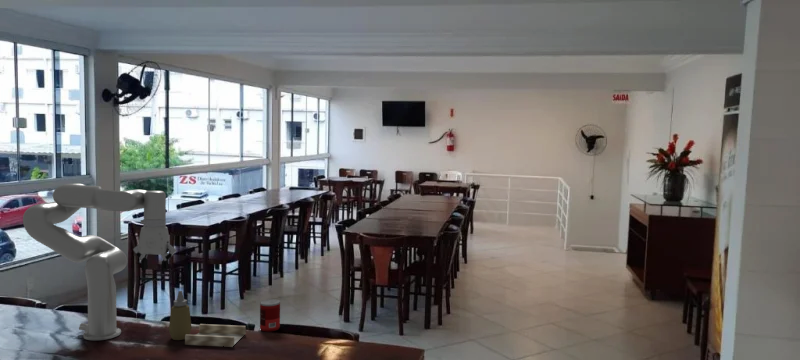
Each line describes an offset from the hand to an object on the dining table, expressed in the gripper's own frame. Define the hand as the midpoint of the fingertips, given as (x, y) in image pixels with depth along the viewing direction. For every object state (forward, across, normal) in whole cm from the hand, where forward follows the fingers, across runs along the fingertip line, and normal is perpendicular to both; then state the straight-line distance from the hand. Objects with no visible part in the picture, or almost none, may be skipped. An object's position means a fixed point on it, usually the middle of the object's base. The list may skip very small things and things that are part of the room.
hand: (154, 269), depth 206 cm
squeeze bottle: (+26, +10, 0) cm, 28 cm away
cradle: (+26, +24, 0) cm, 35 cm away
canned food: (+26, +40, +15) cm, 50 cm away
